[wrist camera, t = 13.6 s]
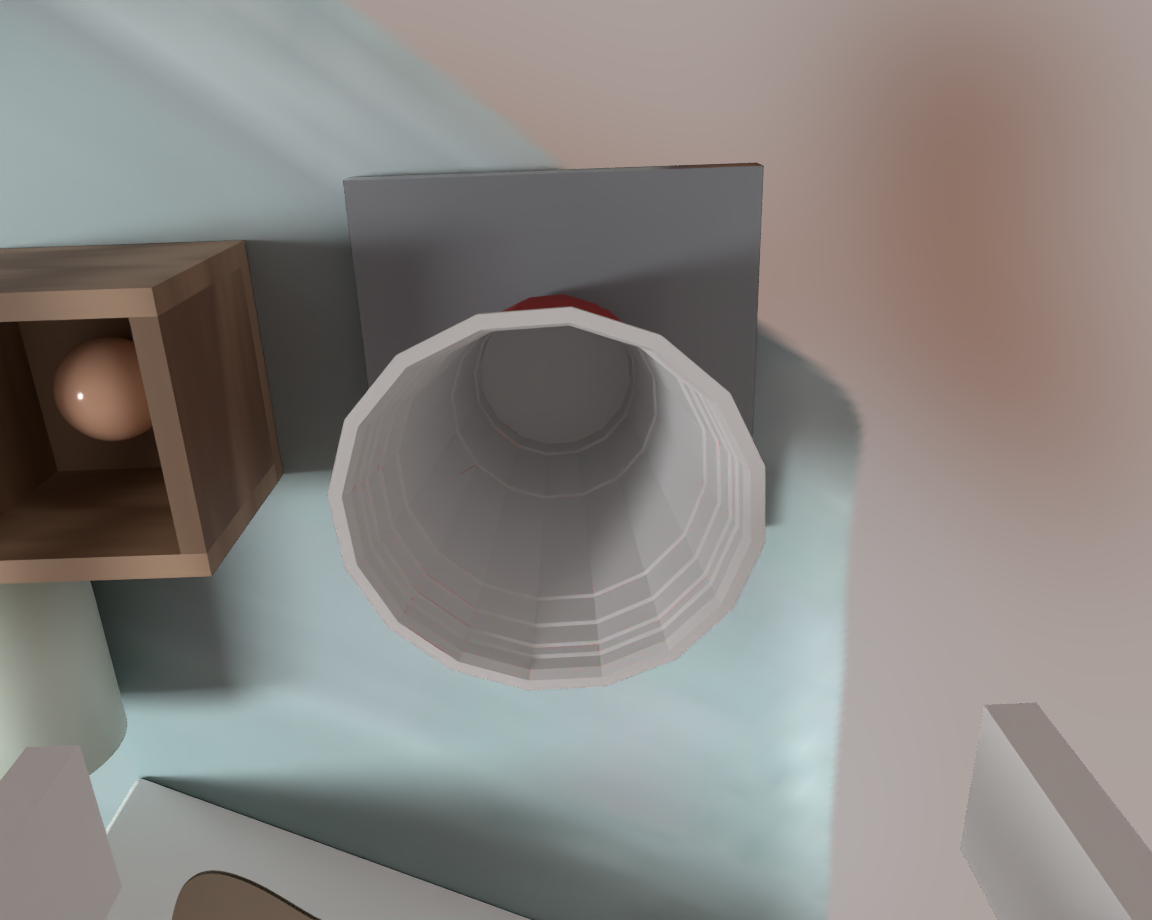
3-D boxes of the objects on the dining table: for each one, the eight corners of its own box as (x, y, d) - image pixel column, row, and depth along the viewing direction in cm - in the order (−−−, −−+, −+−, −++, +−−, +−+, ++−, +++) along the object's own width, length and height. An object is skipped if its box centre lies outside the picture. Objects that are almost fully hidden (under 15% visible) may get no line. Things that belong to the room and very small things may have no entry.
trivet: (394, 539, 37) (389, 553, 36) (350, 177, 32) (343, 181, 31) (742, 526, 37) (747, 540, 36) (756, 162, 32) (763, 165, 31)
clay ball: (96, 421, 34) (46, 458, 31) (73, 327, 33) (18, 355, 30) (193, 418, 34) (153, 455, 31) (174, 323, 33) (130, 350, 30)
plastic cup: (353, 434, 34) (253, 604, 23) (485, 165, 31) (441, 215, 20) (608, 557, 36) (628, 768, 25) (759, 320, 33) (860, 444, 22)
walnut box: (52, 482, 36) (-79, 586, 29) (-11, 249, 33) (-178, 299, 25) (283, 474, 36) (211, 576, 29) (244, 240, 33) (151, 287, 25)
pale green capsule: (156, 693, 40) (73, 812, 34) (-4, 696, 40) (-117, 815, 34) (109, 503, 37) (7, 595, 30) (-65, 508, 37) (-205, 600, 30)
